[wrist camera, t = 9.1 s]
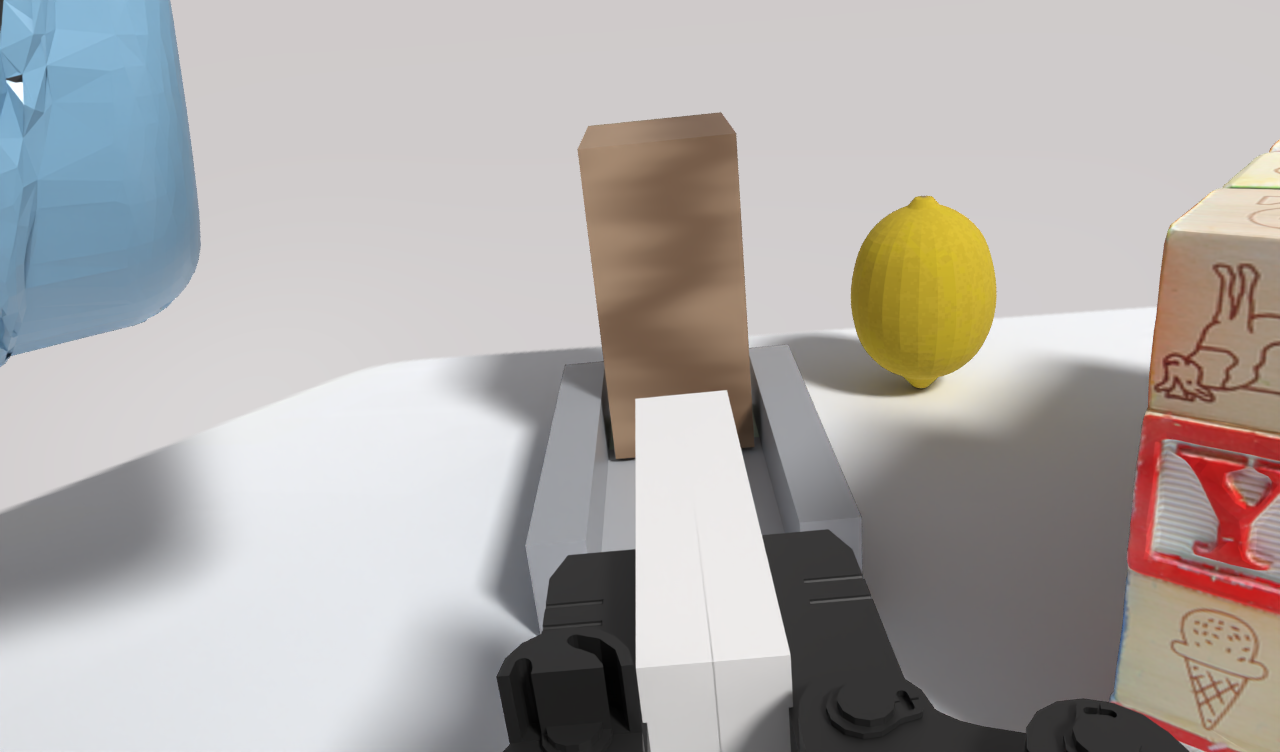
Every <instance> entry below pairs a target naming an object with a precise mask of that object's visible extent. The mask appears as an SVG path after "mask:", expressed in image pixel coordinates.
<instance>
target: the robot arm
mask: <svg viewBox="0 0 1280 752" xmlns="http://www.w3.org/2000/svg"><path fill="white" fill-rule="evenodd" d="M200 246H201V243H200V220H199V208H198V199H197V188H196V180H195V172H194V163H193V155H192V147H191V139H190V132H189V124H188V116H187V109H186V103H185V96H184V89H183V83H182V75H181V69H180V63H179V55H178V49H177V42H176V35H175V29H174V21H173V15H172V9H171V3H170V0H0V367H1V366H2V365H4V364H5V363H6V362H7V360H8V359H9V358H10V356H13V355H17V354H21V353H25V352H29V351H33V350H37V349H41V348H45V347H49V346H53V345H57V344H61V343H65V342H69V341H73V340H77V339H81V338H85V337H89V336H93V335H97V334H101V333H105V332H109V331H114V330H117V329H122V328H126V327H130V326H134V325H137V324H140V323H142V322H145V321H146V320H147V319H148V318H150V317H152V316H154V315H156V314H158V313H159V312H161V311H162V310H164V309H165V308H167V307H168V306H169V304H170V303H171V302H172V301H173V300H174V299H175V298H176V297H178V296H179V294H180V293H181V292H182V291H183V290H184V289H185V287H186V286H187V284H188V283H189V281H190V279H191V277H192V275H193V273H194V272H195V269H196V266H197V263H198V260H199V253H200ZM635 453H636V549H631V550H620V551H608V552H597V553H586V554H575V555H568V556H567V557H566V558H565V559H564V561H563V562H562V563H561V565H560V566H559V567H558V568H557V570H556V571H555V572H554V573H553V575H552V576H551V577H550V579H549V585H548V592H547V598H546V609H545V612H544V618H543V625H542V626H543V631H542V632H541V634H540V635H538V636H536V637H534V638H532V639H530V640H528V641H526V642H524V643H522V644H521V645H520V646H519V647H518V648H516V649H515V650H514V651H513V652H512V653H511V654H510V655H509V656H508V657H507V658H505V660H504V662H503V664H502V666H501V668H500V670H499V673H498V675H497V682H498V687H499V692H500V697H501V702H502V707H503V712H504V717H505V722H506V727H507V732H508V737H509V742H510V745H509V746H508V747H507V748H506V749H505V750H504V751H503V752H1190V751H1189V750H1188V749H1186V748H1185V747H1184V746H1183V745H1182V744H1181V743H1180V742H1179V741H1178V740H1177V739H1175V738H1174V737H1173V736H1172V735H1171V734H1170V733H1169V732H1168V731H1166V730H1165V729H1163V728H1162V727H1160V726H1159V725H1157V724H1156V723H1155V722H1153V721H1152V720H1150V719H1149V718H1147V717H1146V716H1144V715H1143V714H1140V713H1138V712H1135V711H1133V710H1130V709H1128V708H1125V707H1122V706H1120V705H1117V704H1115V703H1110V702H1103V701H1097V700H1090V699H1075V700H1066V701H1057V702H1055V703H1053V704H1051V705H1049V706H1047V707H1045V708H1043V709H1041V710H1039V711H1037V712H1036V714H1035V715H1034V717H1033V718H1032V720H1031V721H1030V723H1029V724H1028V726H1027V727H1026V733H1021V732H1015V731H1009V730H1003V729H996V728H990V727H984V726H979V725H975V724H971V723H967V722H963V721H960V720H957V719H955V718H952V717H950V716H948V715H945V714H943V713H941V712H939V711H937V710H936V709H934V707H933V705H932V704H931V703H930V701H929V700H928V698H927V697H926V696H925V694H924V693H923V692H922V690H921V689H919V688H918V687H916V686H915V685H913V684H912V683H910V682H909V681H907V680H906V679H905V678H904V676H903V674H902V671H901V669H900V666H899V664H898V661H897V659H896V657H895V654H894V652H893V649H892V647H891V644H890V642H889V639H888V637H887V634H886V632H885V629H884V627H883V624H882V622H881V619H880V617H879V614H878V612H877V609H876V607H875V604H874V602H873V599H872V600H871V595H870V592H869V589H868V587H867V584H866V582H865V579H863V576H862V572H861V569H860V567H859V564H858V562H857V559H856V557H855V554H854V552H853V549H852V548H850V547H849V546H848V545H847V544H846V543H844V542H843V541H842V540H841V539H840V538H838V537H837V536H836V535H835V534H833V533H832V532H831V531H830V530H829V529H825V530H814V531H803V532H792V533H780V534H769V535H762V534H761V530H760V526H759V522H758V517H757V513H756V509H755V505H754V501H753V497H752V493H751V488H750V484H749V480H748V476H747V472H746V468H745V463H744V459H743V455H742V451H741V447H740V443H739V439H738V434H737V430H736V426H735V422H734V418H733V414H732V409H731V405H730V401H729V397H728V393H727V390H723V391H712V392H702V393H691V394H681V395H670V396H659V397H649V398H638V399H635Z"/></svg>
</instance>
